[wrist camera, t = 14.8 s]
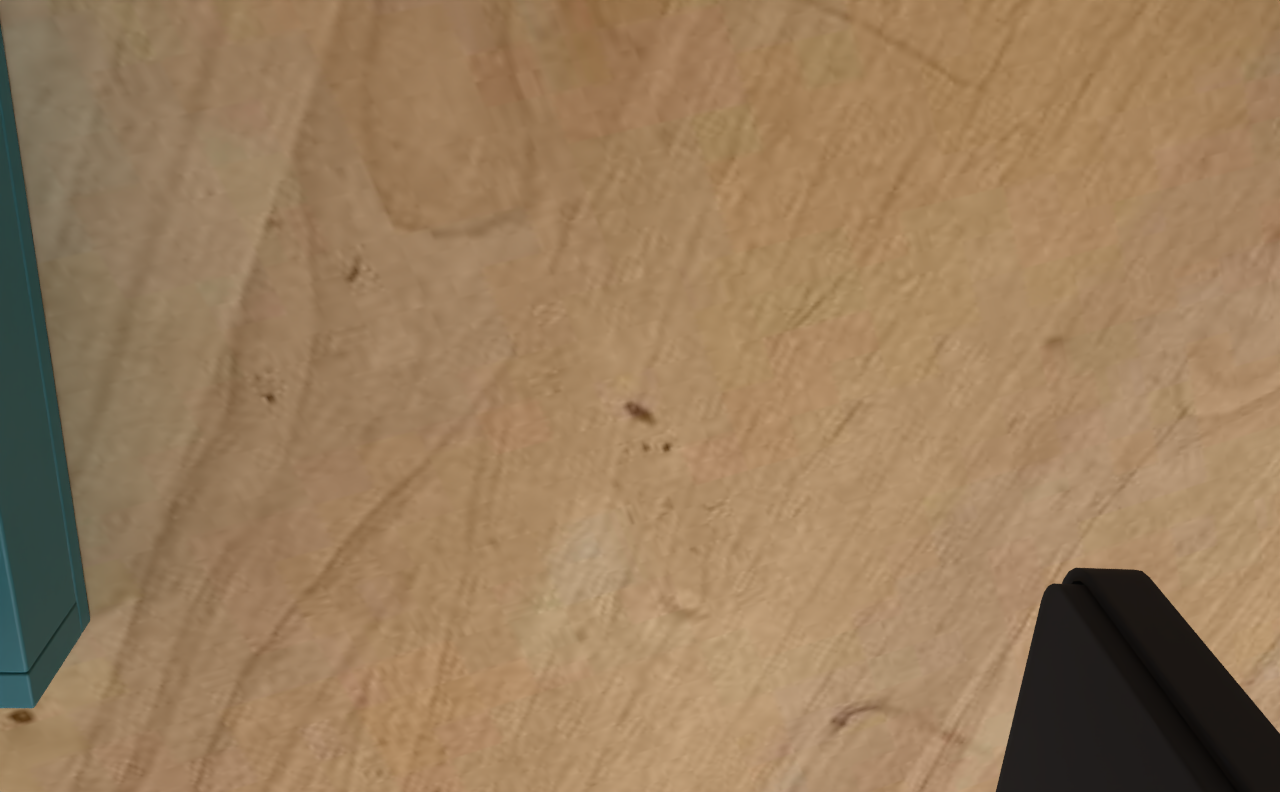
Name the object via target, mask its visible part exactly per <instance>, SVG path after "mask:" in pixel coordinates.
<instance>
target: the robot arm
mask: <svg viewBox="0 0 1280 792" xmlns="http://www.w3.org/2000/svg"><path fill="white" fill-rule="evenodd" d="M996 792H1280V734H1279V732H1278V731H1277V730H1276V729H1275V728H1274V726H1273V725H1272V724H1271V723H1270V722H1269V720H1268V719H1267V718H1266V717H1265V716H1264V714H1263V713H1262V712H1261V711H1260V710H1259V708H1258V707H1257V706H1256V705H1255V704H1254V702H1253V701H1252V700H1251V699H1250V698H1249V696H1248V695H1247V694H1246V693H1245V692H1244V690H1243V689H1242V688H1241V687H1240V686H1239V684H1238V683H1237V682H1236V681H1235V680H1234V678H1233V677H1232V676H1231V675H1230V674H1229V672H1228V671H1227V670H1226V669H1225V668H1224V666H1223V665H1222V664H1221V663H1220V662H1219V660H1218V659H1217V658H1216V657H1215V656H1214V654H1213V653H1212V652H1211V651H1210V650H1209V648H1208V647H1207V646H1206V645H1205V644H1204V642H1203V641H1202V640H1201V639H1200V638H1199V636H1198V635H1197V634H1196V633H1195V632H1194V630H1193V629H1192V628H1191V627H1190V625H1189V624H1188V623H1187V622H1186V621H1185V619H1184V618H1183V617H1182V616H1181V615H1180V613H1179V612H1178V611H1177V610H1176V609H1175V607H1174V606H1173V605H1172V604H1171V603H1170V601H1169V600H1168V599H1167V598H1166V597H1165V595H1164V594H1163V593H1162V592H1161V591H1160V589H1159V588H1158V587H1157V586H1156V585H1155V583H1154V582H1153V581H1152V580H1151V579H1150V577H1148V576H1147V575H1146V574H1145V573H1144V572H1142V571H1139V570H1126V569H1095V568H1074V569H1072V570H1071V571H1069V572H1068V574H1067V575H1066V577H1065V578H1064V580H1063V582H1062V584H1051V585H1050V586H1048V587H1047V589H1046V590H1045V592H1044V595H1043V597H1042V600H1041V604H1040V609H1039V613H1038V617H1037V621H1036V625H1035V630H1034V634H1033V638H1032V642H1031V646H1030V651H1029V655H1028V659H1027V663H1026V667H1025V672H1024V676H1023V680H1022V684H1021V688H1020V693H1019V697H1018V701H1017V705H1016V709H1015V714H1014V718H1013V722H1012V726H1011V730H1010V735H1009V739H1008V743H1007V747H1006V751H1005V756H1004V760H1003V764H1002V768H1001V772H1000V777H999V781H998V785H997V789H996Z"/></svg>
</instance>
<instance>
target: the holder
mask: <svg viewBox="0 0 1280 792" xmlns="http://www.w3.org/2000/svg"><path fill="white" fill-rule="evenodd" d="M89 622H90V616H89V609H88V602H87V596H86V589H85V582H84V576H83V569H82V563H81V556H80V549H79V543H78V536H77V529H76V523H75V516H74V510H73V503H72V496H71V490H70V483H69V476H68V470H67V463H66V456H65V450H64V443H63V437H62V430H61V423H60V417H59V410H58V403H57V397H56V390H55V383H54V377H53V370H52V364H51V357H50V350H49V344H48V337H47V330H46V324H45V317H44V310H43V304H42V297H41V291H40V284H39V277H38V271H37V264H36V257H35V251H34V244H33V237H32V231H31V224H30V218H29V211H28V204H27V198H26V191H25V184H24V178H23V171H22V165H21V158H20V151H19V145H18V138H17V131H16V125H15V118H14V111H13V105H12V98H11V92H10V85H9V78H8V72H7V65H6V58H5V52H4V45H3V38H2V32H1V25H0V708H34V707H35V706H36V704H37V703H38V701H39V699H40V698H41V696H42V695H43V693H44V692H45V690H46V689H47V687H48V686H49V684H50V682H51V681H52V679H53V678H54V676H55V675H56V673H57V672H58V670H59V668H60V667H61V665H62V664H63V662H64V661H65V659H66V658H67V656H68V654H69V653H70V651H71V650H72V648H73V647H74V645H75V644H76V642H77V640H78V639H79V637H80V636H81V634H82V632H83V631H84V629H85V628H86V626H87V625H88V623H89Z"/></svg>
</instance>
